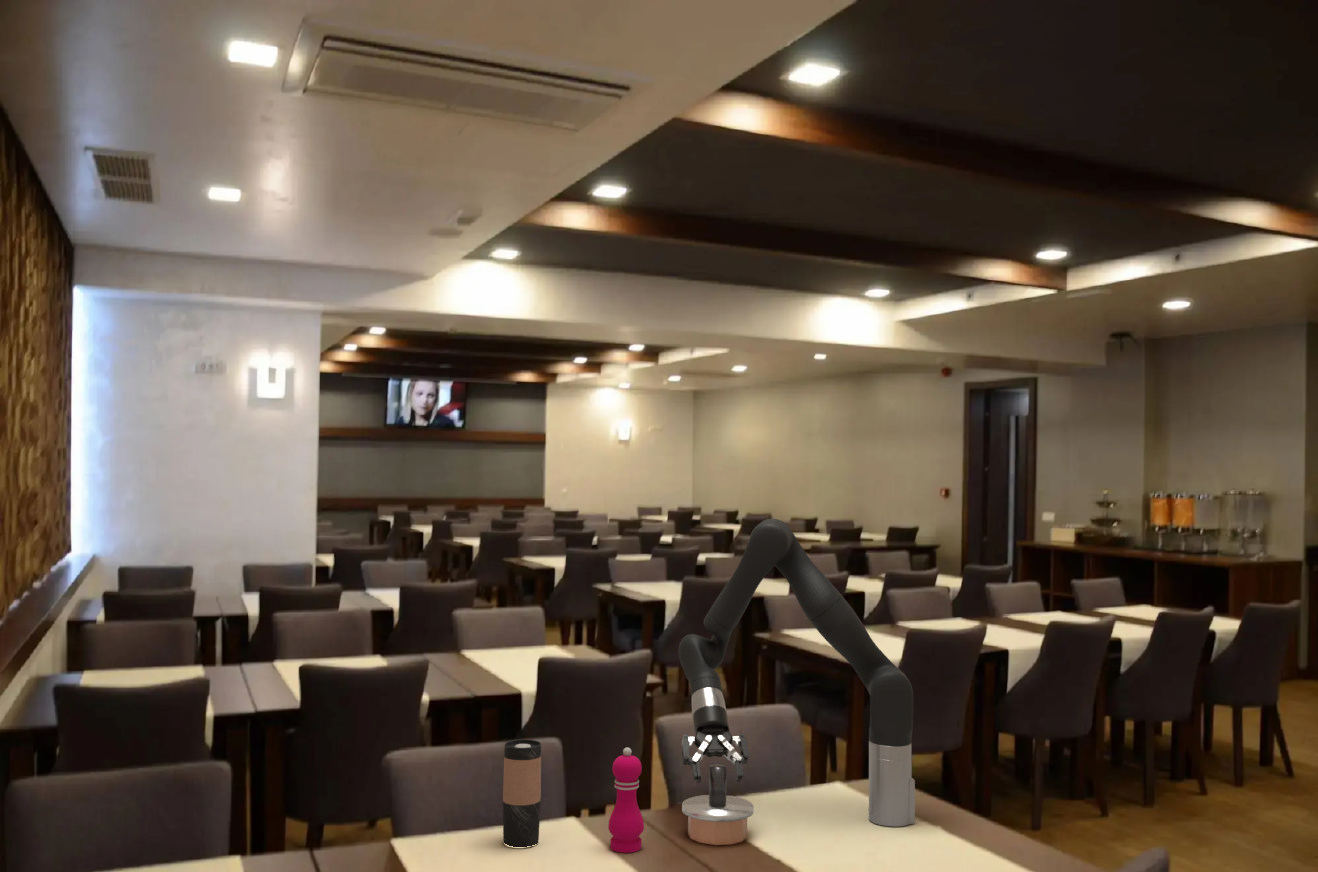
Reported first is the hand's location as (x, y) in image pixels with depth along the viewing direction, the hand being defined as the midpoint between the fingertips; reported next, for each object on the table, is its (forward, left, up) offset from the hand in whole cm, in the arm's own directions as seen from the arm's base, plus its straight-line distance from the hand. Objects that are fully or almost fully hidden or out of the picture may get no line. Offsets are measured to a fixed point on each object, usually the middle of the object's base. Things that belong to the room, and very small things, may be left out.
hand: (719, 780), depth 221 cm
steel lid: (0, -1, -7) cm, 7 cm away
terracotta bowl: (0, -1, -12) cm, 12 cm away
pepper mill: (+20, +5, -12) cm, 24 cm away
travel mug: (+41, 0, -12) cm, 43 cm away
